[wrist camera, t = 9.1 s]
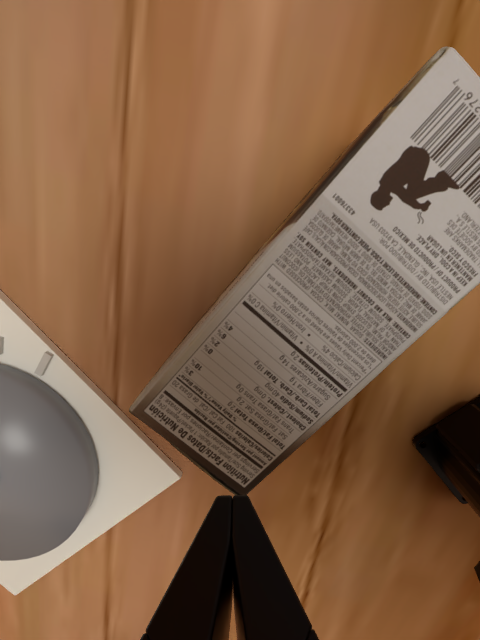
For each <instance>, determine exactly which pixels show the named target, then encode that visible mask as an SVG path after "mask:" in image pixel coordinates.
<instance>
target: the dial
mask: <svg viewBox="0 0 480 640" xmlns="http://www.w3.org/2000/svg"><path fill="white" fill-rule="evenodd" d="M98 473H99V472H98V462H97V457H96V453H95V448H94V446H93V443H92V441H91V438H90V436H89V434H88V432H87V430H86V428H85V426H84V425H83V423H82V421H81V420H80V419H79V417H78V416H77V414H76V413H75V412H74V410H73V409H72V408H71V407H70V406H69V405H68V404H67V403H66V402H65V400H63V399H62V398H61V397H60V396H59V395H58V394H57V393H56V392H54V391H53V390H52V389H51V388H49V387H48V386H46V385H45V384H44V383H42V382H41V381H39V380H37V379H36V378H34V377H32V376H30V375H28V374H27V373H24V372H22V371H20V370H17V369H15V368H13V367H10V366H6V365H3V364H0V561H15V560H23V559H29V558H33V557H37V556H40V555H42V554H45V553H47V552H50V551H51V550H53V549H55V548H56V547H58V546H60V545H61V544H62V543H63V542H65V541H66V540H67V539H68V538H69V537H70V536H71V535H72V534H73V532H74V531H75V530H76V529H77V527H78V526H79V524H80V522H81V521H82V519H83V518H84V516H85V514H86V513H87V511H88V510H89V508H90V506H91V505H92V502H93V500H94V497H95V495H96V490H97V486H98Z"/></svg>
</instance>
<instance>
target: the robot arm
mask: <svg viewBox="0 0 480 640" xmlns="http://www.w3.org/2000/svg"><path fill="white" fill-rule="evenodd" d="M421 442H423V443H422V444H420V443H421ZM413 444H414V446H415V447H416V449H417V450H418V451H419V452H420V453H421V455H422V456H423V457H424V458H425V460H426V461H427V462H428V463H429V465H430V466H431V467H432V468H433V469H434V471H435V472H436V473H437V474H438V476H439V477H440V478H441V479H442V481H443V482H444V483H445V484H446V485H447V487H448V488H449V489H450V490H451V492H452V493H453V494H454V495H455V497H456V498H457V499H458V500H459V501H460V502H461V503H463V504H467V503H469V505H470V506H471V507H472V508H473V509H474V511H475V512H476V513H477V514H478V516H479V517H480V397H479V398H477V399H476V400H474V401H472V402H471V403H469V404H467V405H466V406H464V407H463V408H461V409H459V410H458V411H456V412H454V413H453V414H451V415H450V416H448V417H446V418H445V419H443V420H441V421H440V422H438V423H437V424H435V425H433V426H432V427H430V428H429V429H427V430H425V431H424V432H422V433H420V434H419V435H417V436H416V437H415V438H414V439H413ZM474 569H475V571H476V574H477V576H478V579H479V581H480V561H479V562H478V564H477V565H476V566H475V567H474ZM232 597H233V598H234V611H235V621H236V632H237V640H319V639H318V637H317V635H316V633H315V631H314V630H313V629H312V625H311V623H310V621H309V619H308V617H307V615H306V613H305V611H304V609H303V607H302V605H301V603H300V600H299V598H298V596H297V594H296V592H295V590H294V588H293V586H292V584H291V582H290V580H289V578H288V576H287V574H286V572H285V570H284V568H283V566H282V564H281V562H280V560H279V558H278V556H277V554H276V552H275V550H274V548H273V546H272V544H271V542H270V539H269V537H268V535H267V533H266V531H265V529H264V527H263V525H262V523H261V521H260V519H259V517H258V515H257V513H256V511H255V509H254V507H253V505H252V503H251V501H250V499H249V497H248V496H247V495H235V496H233V499H232V496H230V495H226V496H217V497H216V499H215V501H214V503H213V504H212V506H211V508H210V510H209V512H208V514H207V516H206V518H205V519H204V521H203V523H202V525H201V527H200V529H199V531H198V533H197V535H196V536H195V538H194V540H193V542H192V544H191V546H190V548H189V550H188V551H187V553H186V555H185V557H184V559H183V561H182V563H181V565H180V566H179V568H178V570H177V572H176V574H175V576H174V578H173V580H172V581H171V583H170V585H169V587H168V589H167V591H166V593H165V595H164V596H163V598H162V600H161V602H160V604H159V606H158V608H157V610H156V611H155V613H154V615H153V617H152V619H151V621H150V623H149V625H148V626H147V628H146V633H144V634H143V636H142V637H141V639H140V640H229V630H230V620H231V610H232Z"/></svg>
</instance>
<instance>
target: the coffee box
mask: <svg viewBox="0 0 480 640" xmlns="http://www.w3.org/2000/svg"><path fill="white" fill-rule="evenodd" d="M479 283H480V77H479V76H478V75H477V74H476V73H475V71H474V70H473V69H472V68H471V67H470V66H469V65H468V63H467V62H466V61H465V60H464V59H463V58H462V56H461V55H460V54H459V53H458V52H457V51H456V50H455V49H454V48H452V47H443V48H441V49H440V50H439V51H437V52H436V53H435V54H434V55H433V56H432V57H431V58H430V59H429V60H428V61H427V63H426V64H425V65H424V66H423V67H422V68H421V69H420V70H419V71H418V72H417V73H416V74H415V75H414V76H413V77H412V79H411V80H410V81H409V82H408V83H407V84H406V85H405V86H404V87H403V88H402V89H401V90H400V91H399V93H398V94H397V95H396V96H395V97H394V98H393V99H392V100H391V101H390V102H389V103H388V104H387V105H386V107H385V108H384V109H383V110H382V111H381V112H380V113H379V114H378V115H377V116H376V117H375V118H374V120H373V121H372V122H371V123H370V124H369V125H368V126H367V127H366V128H365V129H364V130H363V132H362V133H361V134H360V135H359V136H358V137H357V138H356V139H355V140H354V141H353V142H352V143H351V144H350V145H349V146H348V148H347V149H346V150H345V151H344V152H343V154H342V155H341V156H340V157H339V158H338V159H337V160H336V162H335V163H334V164H333V165H332V166H331V167H330V168H329V170H328V171H327V172H326V173H325V174H324V175H323V176H322V178H321V179H320V180H319V181H318V182H317V183H316V185H315V186H314V187H313V188H312V189H311V190H310V191H309V192H308V194H307V195H306V196H305V197H304V198H303V199H302V201H301V202H300V203H299V204H298V205H297V206H296V208H295V209H294V210H293V211H292V212H291V213H290V215H289V216H288V217H287V218H286V219H285V220H284V221H283V223H282V224H281V225H280V226H279V227H278V228H277V230H276V231H275V232H274V233H273V234H272V236H271V237H270V238H269V239H268V240H267V241H266V243H265V244H264V245H263V246H262V247H261V249H260V250H259V251H258V252H257V253H256V254H255V256H254V257H253V258H252V259H251V260H250V261H249V263H248V264H247V265H246V266H245V267H244V268H243V269H242V271H241V272H240V273H239V274H238V275H237V276H236V278H235V279H234V280H233V281H232V282H231V283H230V285H229V286H228V287H227V288H226V289H225V291H224V292H223V293H222V294H221V295H220V296H219V298H218V299H217V300H216V301H215V302H214V304H213V305H212V306H211V307H210V308H209V310H208V311H207V312H206V313H205V314H204V315H203V317H202V318H201V319H200V320H199V321H198V323H197V324H196V325H195V326H194V327H193V328H192V330H191V331H190V332H189V333H188V334H187V336H186V337H185V338H184V339H183V341H182V342H181V343H180V344H179V345H178V347H177V348H176V349H175V350H174V352H173V353H172V354H171V355H170V357H169V358H168V359H167V360H166V362H165V363H164V364H163V365H162V367H161V368H160V369H159V370H158V372H157V373H156V374H155V375H154V377H153V378H152V379H151V380H150V382H149V383H148V384H147V385H146V387H145V388H144V389H143V391H142V392H141V393H140V394H139V396H138V397H137V398H136V400H135V401H134V402H133V404H132V405H131V407H130V409H129V412H130V413H132V414H133V415H134V416H136V417H137V418H138V419H140V420H141V421H142V422H144V423H145V424H146V425H148V426H149V427H150V428H152V429H153V430H154V431H156V432H157V433H158V434H159V435H161V436H162V437H164V438H165V439H166V440H167V441H169V442H170V443H171V445H172V446H173V447H175V448H176V449H177V450H178V451H179V452H181V453H182V454H183V455H184V456H185V457H187V458H188V459H189V460H190V461H191V462H193V463H194V464H195V465H196V466H198V467H199V468H200V469H201V470H203V471H204V472H205V473H207V474H208V475H209V476H210V477H212V478H213V479H214V480H215V481H217V482H218V483H219V484H221V485H222V486H224V487H225V488H226V489H228V490H229V491H230V492H232V493H233V494H234V495H247V494H248V493H249V492H250V491H251V490H252V489H253V488H254V487H255V486H256V485H258V484H259V483H260V482H261V481H262V480H263V479H264V478H265V477H266V476H267V475H269V474H270V473H271V472H272V471H273V470H274V469H275V468H276V467H277V466H278V465H279V464H281V463H282V462H283V461H284V460H285V459H286V458H287V457H288V456H290V455H291V454H292V453H293V452H294V451H295V450H296V449H297V448H298V447H299V446H300V445H302V444H303V443H304V442H305V441H306V440H307V439H308V438H309V437H310V436H311V435H313V434H314V433H315V432H316V431H317V430H318V429H319V428H320V427H321V426H322V425H324V424H325V423H326V422H327V421H328V420H329V419H330V418H331V417H332V416H333V415H334V414H336V413H337V412H338V411H339V410H340V409H341V408H342V407H343V406H344V405H345V404H347V403H348V402H349V401H350V400H351V399H352V398H353V397H354V396H355V395H356V394H358V393H359V392H360V391H361V390H362V389H363V388H364V387H365V386H366V385H367V384H369V383H370V382H371V381H372V380H373V379H374V378H375V377H376V376H377V375H378V374H379V373H381V372H382V371H383V370H384V369H385V368H386V367H387V366H388V365H389V364H390V363H391V362H393V361H394V360H395V359H396V358H397V357H398V356H399V355H400V354H402V353H403V352H404V351H405V350H406V349H407V348H408V347H409V346H410V345H412V344H413V343H414V342H415V341H416V340H417V339H418V338H419V337H420V336H422V335H423V334H424V333H425V332H426V331H427V330H428V329H429V328H430V327H431V326H433V325H434V324H435V323H436V322H437V321H438V320H439V319H440V318H442V317H443V316H444V315H445V314H446V313H447V312H448V311H449V310H450V309H451V308H452V307H454V306H455V305H456V304H457V303H458V302H459V301H460V300H461V299H463V298H464V297H465V296H466V295H467V294H468V293H469V292H470V291H471V290H472V289H474V288H475V287H476V286H477V285H478V284H479Z"/></svg>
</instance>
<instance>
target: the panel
mask: <svg viewBox="0 0 480 640" xmlns="http://www.w3.org/2000/svg"><path fill="white" fill-rule="evenodd" d="M0 364H3V365H6V366H10V367H13V368H15V369H17V370H20V371H22V372H24V373H27V374H28V375H30V376H32V377H34V378H36V379H37V380H39V381H41V382H42V383H44V384H45V385H46V386H48V387H49V388H51V389H52V390H53V391H54V392H56V393H57V394H58V395H59V396H60V397H61V398H62V399H63V400H65V402H66V403H67V404H68V405H69V406H70V407H71V408H72V409H73V410H74V412H75V413H76V414H77V416H78V417H79V419H80V420H81V421H82V423H83V425H84V426H85V428H86V430H87V432H88V434H89V436H90V438H91V441H92V443H93V446H94V448H95V453H96V457H97V462H98V472H99V473H98V486H97V490H96V495H95V497H94V500H93V502H92V505H91V506H90V508H89V510H88V511H87V513H86V514H85V516H84V518H83V519H82V521H81V522H80V524H79V526H78V527H77V529H76V530H75V531H74V532H73V534H72V535H71V536H70V537H69V538H68V539H67V540H66V541H65V542H63V543H62V544H61V545H60V546H58V547H56V548H55V549H53V550H51V551H50V552H47V553H45V554H42V555H40V556H37V557H33V558H29V559H23V560H15V561H0V584H1V585H3V586H4V587H5V588H6V589H7V590H9V591H10V592H11V593H12V594H14V595H17V594H18V593H20V592H21V591H22V590H24V589H25V588H27V587H28V586H29V585H31V584H32V583H34V582H35V581H36V580H38V579H39V578H41V577H42V576H44V575H45V574H46V573H48V572H49V571H51V570H52V569H53V568H55V567H56V566H58V565H59V564H60V563H62V562H63V561H65V560H66V559H68V558H69V557H70V556H72V555H73V554H75V553H76V552H77V551H79V550H80V549H82V548H83V547H84V546H86V545H87V544H89V543H90V542H92V541H93V540H94V539H96V538H97V537H99V536H100V535H101V534H103V533H104V532H106V531H107V530H108V529H110V528H111V527H113V526H114V525H115V524H117V523H118V522H120V521H121V520H123V519H124V518H125V517H127V516H128V515H130V514H131V513H132V512H134V511H135V510H137V509H138V508H139V507H141V506H142V505H144V504H145V503H147V502H148V501H149V500H151V499H152V498H154V497H155V496H156V495H158V494H159V493H161V492H162V491H163V490H165V489H166V488H168V487H169V486H170V485H172V484H173V483H175V482H176V481H178V480H179V479H180V478H181V476H182V473H183V472H182V471H181V470H180V469H179V468H178V467H177V466H176V465H175V464H174V463H173V462H172V461H171V460H170V459H169V458H168V457H167V456H166V455H165V454H164V453H163V452H162V451H161V450H160V449H159V448H158V447H157V446H156V445H155V444H154V443H153V442H152V441H151V440H150V439H149V438H148V437H147V436H146V435H145V434H144V433H143V432H142V431H141V430H140V429H139V428H138V427H137V426H136V425H135V424H134V423H133V422H132V421H131V420H130V419H129V418H128V417H127V416H126V415H125V414H124V413H123V412H122V411H121V410H120V409H119V408H118V407H117V406H116V405H115V404H114V403H113V402H112V401H111V400H110V399H109V398H108V397H107V396H106V395H105V394H104V393H103V392H102V391H101V390H100V389H99V388H98V387H97V386H96V385H95V384H94V383H93V382H92V381H91V380H90V379H89V378H88V377H87V376H86V375H85V374H84V373H83V372H82V371H81V370H80V369H79V368H78V367H77V366H76V365H75V364H74V363H73V362H72V361H71V360H70V359H69V358H68V357H67V356H66V355H65V354H64V353H63V352H62V351H61V350H60V349H59V348H58V347H57V346H56V345H55V344H54V343H53V342H52V341H51V340H50V339H49V338H48V337H47V336H46V335H45V334H44V333H43V332H42V331H41V330H40V329H39V328H38V327H37V326H36V325H35V324H34V323H33V322H32V321H31V320H30V319H29V318H28V317H27V316H26V315H25V314H24V313H23V312H22V311H21V310H20V309H19V308H18V307H17V306H16V305H15V304H14V303H13V302H12V301H11V300H10V299H9V298H8V297H7V296H6V295H5V294H4V293H3V292H2V291H1V290H0Z"/></svg>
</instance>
